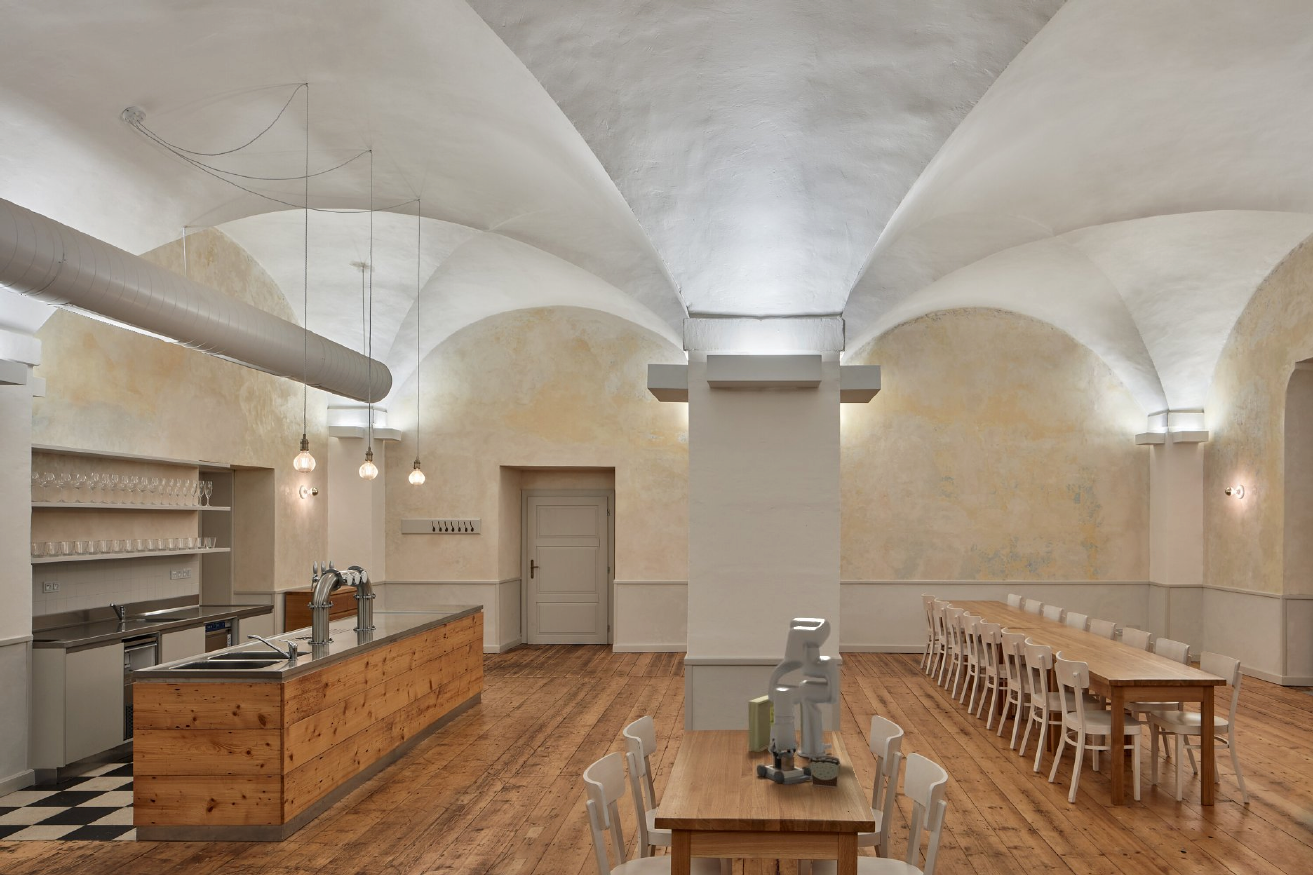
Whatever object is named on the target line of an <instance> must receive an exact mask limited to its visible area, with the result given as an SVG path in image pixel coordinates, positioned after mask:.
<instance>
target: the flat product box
mask: <svg viewBox="0 0 1313 875" xmlns="http://www.w3.org/2000/svg"><path fill="white" fill-rule="evenodd" d="M747 702H748V708H747V709H748V749H749V750H751V751H750V752H754V751H755V752H756V753H758V752H759V753H760V752H762V751H764V750H768V749H769V748H768V747H770V734H771V727H772V724H773V723H774V702H771V701H770V700H769V698H768V694H767V695H763V696H761V697H757V698H754V699H751V700H748V701H747ZM794 722H795V721H794V719H793V723H794ZM794 724H795V723H794ZM749 750H748V751H749Z"/></svg>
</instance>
